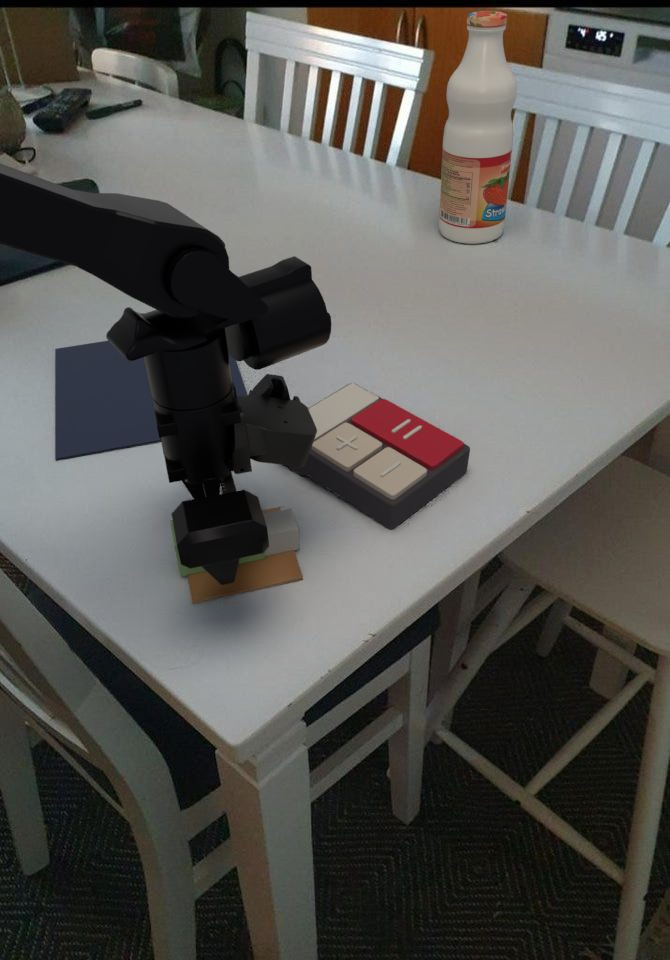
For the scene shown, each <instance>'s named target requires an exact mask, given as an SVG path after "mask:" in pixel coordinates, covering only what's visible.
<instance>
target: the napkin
mask: <svg viewBox="0 0 670 960" xmlns="http://www.w3.org/2000/svg"><path fill="white" fill-rule="evenodd" d="M54 353H55V354H54V367H55V368H54V398H55V400H54V428H55V429H54V444H55V445H54V449H55V450H54V455H55V456H54V458H55V461H61V460H66V459H67V460H68V459H72V458H73V459H74V458H78V457H85V456H89V455H94V454H100V453H105V452H111V451H116V450H123V449H129V448H133V447H139V446H145V445H150V444H156V443H162V442H161V440H160V438H159V434H158V429H157V424H156V418H155V412H154V406H153V399H152V394H151V390H150V385H149V380H148V375H147V371H146V366H145V361H144V357H143V358H140V359H137V360H134V361H129V360H127V359H126V358H125V357H124V356H123V355H122V354H121V353H120V352H119V351H118V350H117V349H116V348H115V347H114V346H113V345H112V344H111V343H110V342H109V341H108V340H103V341H97V342H96V341H95V342H90V343H84V344H77V345H71V346H65V347H58V348H55V349H54ZM228 355H229V362H230V369H231V377H232V381H233V382H234V385H235V388H236V394H237V396H248V394H249V393H248V391H247V389H246V386H245V383H244V380H243V376H242V374H241V370H240V367H239V365H238V361H236V360H235V359H234V358H233V357H232V356H231V355H230V354H229V352H228Z"/></svg>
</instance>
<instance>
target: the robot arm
mask: <svg viewBox="0 0 670 960" xmlns="http://www.w3.org/2000/svg"><path fill="white" fill-rule="evenodd" d="M0 245H2V246H6V247H8V248H13V249H15V250H19V251H22V252H26V253H30V254H32V255H36V256H39V257H43V258H46V259H50V260H53V261H57V262H61V263H63V264H67V265H71V266H72V267H73V266H74V267H76V268H78V269H80V270H83V271H84V272H86V273H88V274H90V275H92V276H94V277H96V278H98V279H99V280H101V281H103V282H105V284H108V285H109V286H111V287H113V288H115V289H117V290H118V291H120V292H122V293H123V294H124V295H127V296H129V297H131V298H132V299H135V300H137V301H138V302H140V303H142V304H145V305H146V306H148V307H151V308H152V309H153V310H152V311H151V310H150V311H148V312H143V313H142V312H138V311H136V310H135V309H133V308H132V307H130V306H127V307H126V308H124V310H123V312H122V315H121V317H120V318H119V319H118V320H117V321H116V322H115V323H113V325H112V326H111V327H110V329H109V330H108V331H107V333H106V335H105V337H106V339H107V340H106V341H109V342H110V343H111V344H112V345H113V346H114V347H115V348H116V349H117V350H118V351H119V352H120V353H121V354H122V355H123V356H124V357H125V358H126V359H127V360H129V361H134V360H137V359H140V358H143V357H144V361H145V366H146V371H147V375H148V380H149V385H150V390H151V394H152V399H153V406H154V412H155V418H156V424H157V429H158V434H159V438H160V440H161V442H160V443H161V448H162V453H163V456H164V461H165V468H166V473H167V478H168V482H169V484H170V483H177V482H182V484H183V485H184V487H185V488H186V490H187V491H188V493H189V494H190V495H191V497H192V498H193V499H188V500H183V501H181V503H179V504H178V506H177V507H176V508H175V509H174V511H173V512H172V513H171V520H173V526H174V532H175V538H176V544H177V549H178V553H179V558H180V562H181V565H183V566H185V567H187V568H190V569H191V568H196V567H200V566H201V567H202V568H203V569H205V570H206V571H207V572H208V573H209V574H210V575H211V576H212V577H213V578H214V579H215V580H216V581H218V582H219V583H220V584H221V585H225V584H230V583H233V582H234V581H235V578H236V573H237V569H238V565H239V560H240V558H243V557H248V556H253V555H258V554H262V553H264V552H265V551H266V549H267V548H268V547H269V539H268V531H267V525H266V522H265V519H264V515H263V512H262V510H263V508H262V506H261V501H260V499H259V496H258V495H256V494H254V493H251V492H250V491H247V490H246V489H240V490H237V488H236V483H235V480H234V477H233V473H234V474H235V475H240V474H246V473H250V472H251V473H252V471H253V467H252V461H255V462H257V463H263V464H264V463H265V464H272V465H273V464H275V465H284V466H286V465H289V466H290V467H292V468H302V467H304V466H305V465H306V462H307V459H308V456H309V453H310V451H311V448H312V445H313V442H314V439H315V436H316V433H317V428H316V426H315V424H314V421H313V419H312V417H311V414H310V412H309V410H308V408H309V407H308V406H307V405H306V404H304V403H303V402H302V401H301V399H300V397H299V396H297V395H293V397H292V399H291V396H290V392H289V388H288V386H287V382H286V380H285V377H284V376H282V375H277V374H271V373H266V374H265V375H264V376H263V377H262V378H261V379H260V380H259V382H258V383H256V384H255V386H254V387H253V388H252V389H249V391H248V393H247V394H248V396H237V394H236V388H235V385H234V382H233V381H232V377H231V369H230V362H229V355H228V352H229V354H230V355H231V356H232V357H233V358H234V359H235V360H236V362H244V363H245V364H246V365H247V366H248V367H249V368H251V369H253V370H255V371H259V370H262V369H265V368H268V367H270V366H272V365H276V364H278V363H281V362H283V361H285V360H288V359H291V358H293V357H296V356H300V355H301V354H304V353H307V352H309V351H311V350H314V349H317V348H320V347H322V346H324V345H326V344H327V343H328V341H329V340H330V337H331V335H332V315H331V314H330V313H329V311H328V308H327V305H326V302H325V300H324V297H323V295H322V292H321V291H320V289H319V287H318V286H317V285H316V283H315V281H314V280H313V274H312V273H313V272H312V266H311V265H310V264H308V262H305V261H303V260H302V259H301V258H298V257H297V256H290V257H286V258H284V259H282V260H280V261H278V262H277V263H275V264H273V265H270V266H268V267H264V268H262V269H258V270H256V271H253V272H249V273H245V274H243V275H240V276H238V275H237V274H235V273H234V272H233V271H232V270H231V269H230V257H229V254H228V251H227V248H226V243H225V241H224V240H223V239H222V238H221V237H220V236H219V235H217V234H216V233H214V232H213V231H212V230H209V229H208V228H207V227H205V226H203V225H202V224H200V223H199V222H197V221H196V220H194V219H193V218H191V217H189V216H188V215H187V214H185V213H184V212H182V211H181V210H179V209H178V208H176V207H174V206H173V205H171V204H170V203H168V202H165V201H162V200H158V199H151V198H147V197H141V196H135V195H129V194H122V193H117V192H116V193H115V192H90V191H89V192H88V191H83V190H78V189H72V188H69V187H66V186H63V185H61V184H58V183H55V182H52V181H49V180H47V179H44V178H42V177H38V176H37V175H33V174H30V173H28V172H25V171H23V170H19V169H17V168H14V167H12V166H9V165H7V164H3V163H0ZM251 460H252V461H251ZM232 472H233V473H232ZM221 492H222V493H221Z"/></svg>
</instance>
